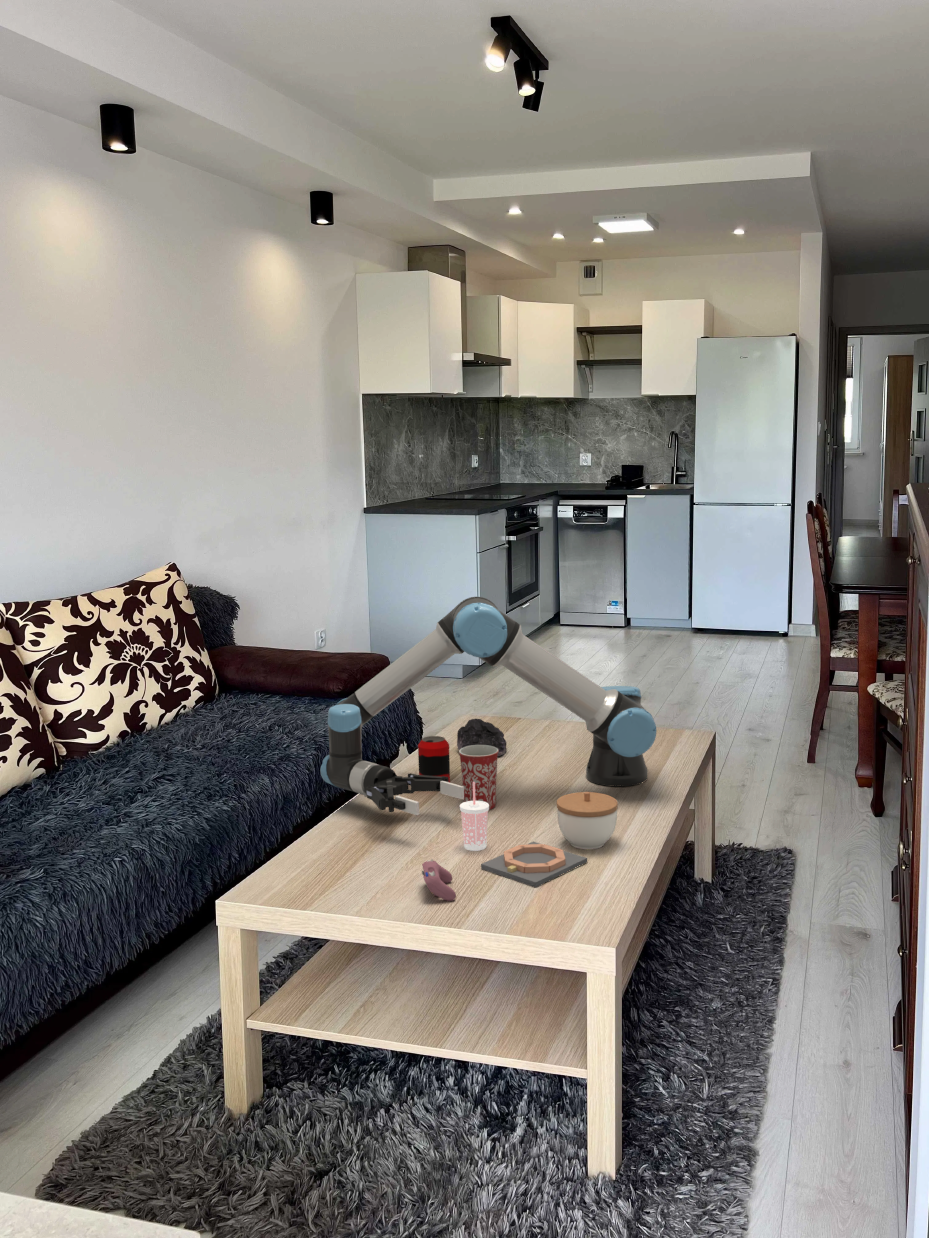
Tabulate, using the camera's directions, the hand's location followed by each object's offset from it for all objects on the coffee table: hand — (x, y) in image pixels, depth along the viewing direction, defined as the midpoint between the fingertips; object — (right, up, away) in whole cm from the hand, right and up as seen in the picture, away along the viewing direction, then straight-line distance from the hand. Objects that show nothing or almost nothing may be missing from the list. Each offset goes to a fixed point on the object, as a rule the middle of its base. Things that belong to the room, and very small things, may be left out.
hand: (440, 800), depth 232 cm
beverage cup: (+7, -9, -5) cm, 13 cm away
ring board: (+19, -10, -16) cm, 27 cm away
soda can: (-2, -3, +35) cm, 35 cm away
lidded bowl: (+31, -8, -5) cm, 32 cm away
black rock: (+10, +2, +63) cm, 63 cm away
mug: (+9, -4, +21) cm, 24 cm away
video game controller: (0, -13, -28) cm, 30 cm away
